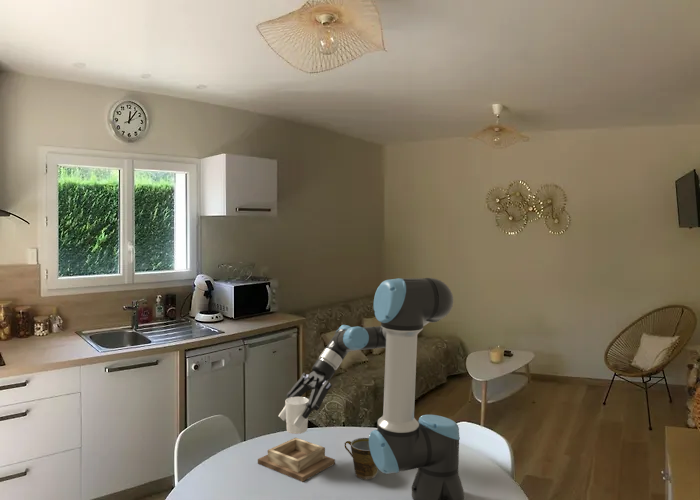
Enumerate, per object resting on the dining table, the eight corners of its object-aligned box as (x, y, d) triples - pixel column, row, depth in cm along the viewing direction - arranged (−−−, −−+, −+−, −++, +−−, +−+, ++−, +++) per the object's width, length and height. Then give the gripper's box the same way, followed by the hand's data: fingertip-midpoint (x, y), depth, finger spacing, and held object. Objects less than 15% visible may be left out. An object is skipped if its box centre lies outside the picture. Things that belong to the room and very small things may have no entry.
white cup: (281, 427, 174) (282, 398, 173) (304, 424, 177) (304, 395, 177) (289, 436, 167) (289, 405, 166) (312, 432, 170) (312, 402, 170)
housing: (334, 463, 173) (335, 449, 172) (302, 481, 160) (302, 465, 160) (291, 447, 185) (291, 434, 184) (257, 463, 172) (257, 448, 172)
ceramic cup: (386, 472, 167) (387, 441, 167) (372, 485, 158) (372, 453, 158) (352, 462, 174) (352, 433, 173) (336, 474, 165) (336, 443, 165)
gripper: (352, 377, 174) (314, 437, 164) (314, 365, 189) (277, 419, 179) (341, 364, 170) (301, 424, 160) (302, 353, 185) (264, 407, 175)
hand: (288, 421), depth 170 cm, fingers closed on white cup, 8 cm apart
